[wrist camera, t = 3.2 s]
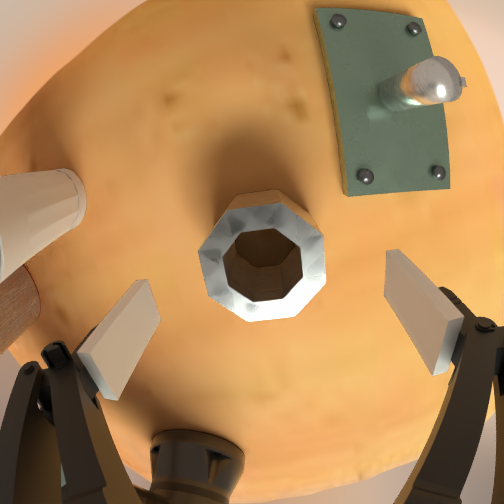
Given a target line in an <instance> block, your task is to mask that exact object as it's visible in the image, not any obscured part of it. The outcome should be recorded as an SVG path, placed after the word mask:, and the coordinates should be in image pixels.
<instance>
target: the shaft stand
mask: <svg viewBox="0 0 504 504" xmlns="http://www.w3.org/2000/svg"><path fill="white" fill-rule="evenodd" d="M313 17H314V21H315V25H316V29H317V33H318V37H319V41H320V46H321V50H322V55H323V59H324V64H325V69H326V74H327V79H328V84H329V90H330V95H331V101H332V107H333V113H334V120H335V126H336V133H337V141H338V148H339V157H340V166H341V175H342V185H343V194H344V195H346V196H348V197H351V196H362V195H372V194H384V193H396V192H409V191H423V190H439V189H450V164H449V149H448V138H447V128H446V120H445V113H444V106H443V103H444V102H451V101H455V100H457V99H458V98H459V97H460V95H461V93H462V88H464V87H467V86H466V81H465V78H464V77H460V74H459V72H458V71H457V69H456V68H455V66H454V65H453V64H452V63H451V62H450V61H448V60H447V59H445V58H443V57H440V56H434V57H433V53H432V49H431V45H430V42H429V38H428V35H427V32H426V29H425V26H424V22H423V19H422V18H417V17H412V16H407V15H401V14H395V13H388V12H380V11H371V10H361V9H345V8H315V11H314V13H313Z"/></svg>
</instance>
